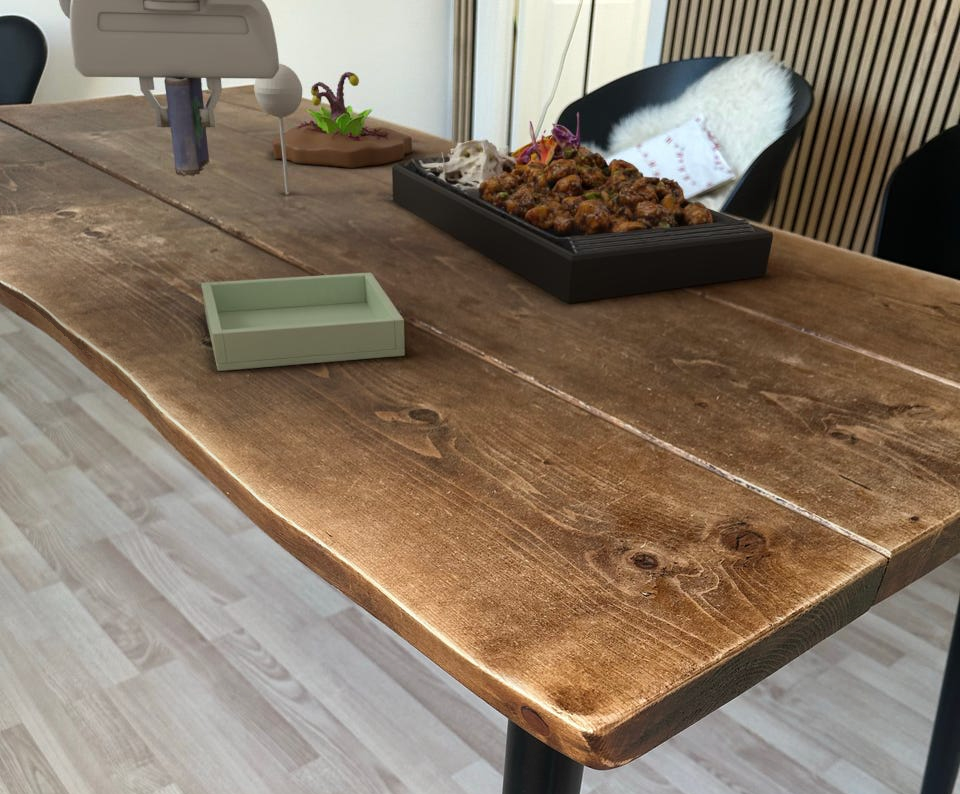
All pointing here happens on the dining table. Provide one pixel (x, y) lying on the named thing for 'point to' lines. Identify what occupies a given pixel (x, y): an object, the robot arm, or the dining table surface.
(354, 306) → the tray
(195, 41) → the robot arm
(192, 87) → the flask
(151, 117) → the dining table surface
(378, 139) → the plant
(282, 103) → the lollipop
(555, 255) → the food platter
